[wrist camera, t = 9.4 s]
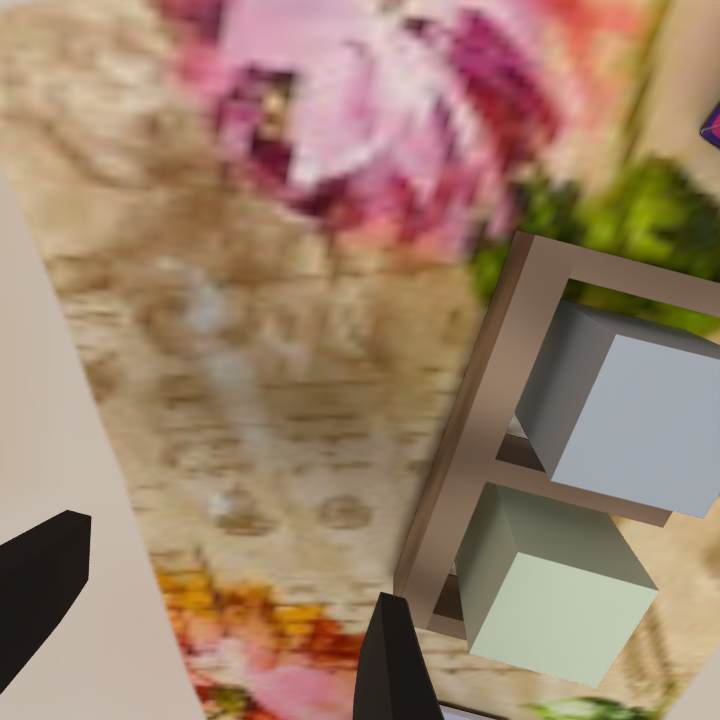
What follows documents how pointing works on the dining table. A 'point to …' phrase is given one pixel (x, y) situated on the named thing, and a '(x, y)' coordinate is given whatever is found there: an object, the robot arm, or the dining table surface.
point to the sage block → (548, 585)
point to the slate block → (626, 409)
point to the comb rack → (497, 405)
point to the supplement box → (713, 128)
